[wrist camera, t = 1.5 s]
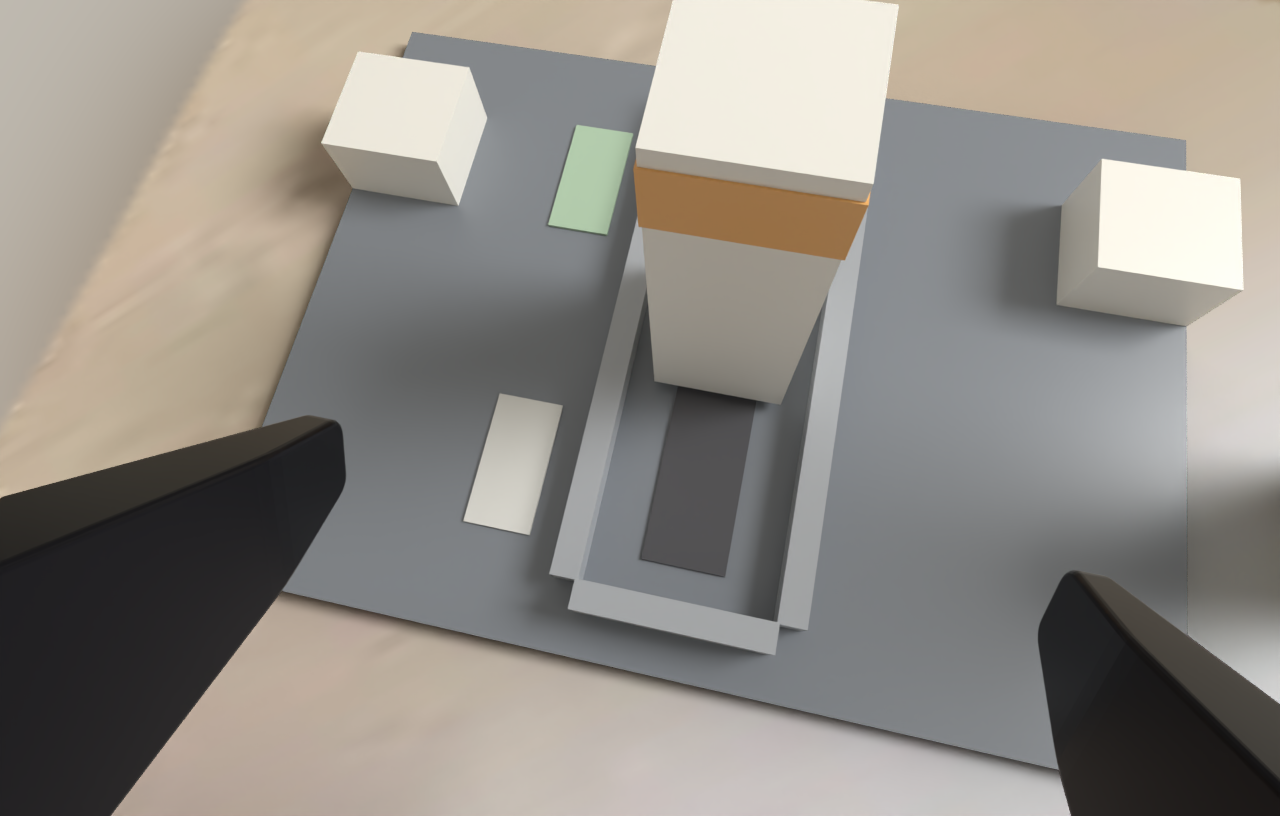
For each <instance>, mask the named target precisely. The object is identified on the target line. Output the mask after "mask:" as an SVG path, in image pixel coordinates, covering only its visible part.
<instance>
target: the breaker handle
mask: <svg viewBox="0 0 1280 816" xmlns="http://www.w3.org/2000/svg"><path fill="white" fill-rule="evenodd" d="M898 8H899V5H897V4H890V3H882V2H874V1H866V0H673V2H672V6H671V10H670V14H669V18H668V22H667V26H666V30H665V33H664V37H663V41H662V45H661V49H660V53H659V57H658V61H657V65H656V69H655V73H654V77H653V80H652V84H651V88H650V92H649V96H648V100H647V104H646V108H645V112H644V116H643V120H642V123H641V127H640V131H639V135H638V139H637V143H636V147H635V150H636V160H635V164H634V168H633V171H634V182H635V193H636V204H637V215H638V226H639V227H642V235H643V247H644V260H645V272H646V284H647V296H648V308H649V320H650V332H651V344H652V357H653V369H654V381H656V382H661V383H666V384H672V385H677V386H682V387H688V388H693V389H699V390H704V391H709V392H715V393H720V394H725V395H731V396H736V397H741V398H747V399H752V400H757V401H763V402H768V403H773V404H779V405H781V403H782V400H783V398H784V396H785V393H786V391H787V388H788V386H789V384H790V381H791V379H792V377H793V374H794V372H795V369H796V367H797V365H798V362H799V360H800V358H801V355H802V353H803V350H804V348H805V346H806V343H807V341H808V339H809V336H810V334H811V331H812V329H813V327H814V324H815V322H816V320H817V317H818V315H819V312H820V310H821V308H822V305H823V303H824V301H825V298H826V296H827V293H828V291H829V289H830V286H831V284H832V282H833V279H834V277H835V274H836V272H837V270H838V267H839V265H840V263H841V260H844V261H845V259H846V257H847V255H848V252H849V250H850V248H851V245H852V243H853V241H854V238H855V236H856V234H857V231H858V229H859V227H860V224H861V222H862V220H863V217H864V215H865V213H866V210H867V208H868V206H869V199H870V192H871V189H872V187H873V184H874V177H875V170H876V163H877V156H878V149H879V142H880V135H881V128H882V121H883V114H884V107H885V100H886V93H887V85H888V78H889V71H890V64H891V57H892V50H893V43H894V36H895V29H896V22H897V15H898Z"/></svg>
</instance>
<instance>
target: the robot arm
mask: <svg viewBox="0 0 1280 816" xmlns="http://www.w3.org/2000/svg"><path fill="white" fill-rule="evenodd" d="M345 482H346V464H345V451H344V438H343V430H342V427H341V425H340V424H339V423H338V422H337V421H336V420H332V419H328V418H323V417H318V416H313V415H305V416H301V417H297V418H293V419H290V420H286V421H282V422H278V423H275V424H271V425H267V426H264V427H260V428H256V429H252V430H249V431H245V432H241V433H238V434H234V435H230V436H226V437H223V438H219V439H215V440H212V441H208V442H204V443H200V444H197V445H193V446H189V447H186V448H182V449H178V450H175V451H171V452H167V453H163V454H160V455H156V456H152V457H149V458H145V459H141V460H137V461H134V462H130V463H126V464H123V465H119V466H115V467H111V468H108V469H104V470H100V471H97V472H93V473H89V474H85V475H82V476H78V477H74V478H71V479H67V480H63V481H59V482H56V483H52V484H48V485H45V486H41V487H37V488H34V489H30V490H26V491H22V492H19V493H15V494H11V495H8V496H4V497H2V498H0V816H111V815H112V813H113V812H114V811H115V810H116V808H117V807H118V806H119V804H120V803H121V802H122V800H123V799H124V798H125V796H126V795H127V794H128V792H129V791H130V790H131V789H132V787H133V786H134V785H135V783H136V782H137V781H138V779H139V778H140V777H141V775H142V774H143V773H144V771H145V770H146V769H147V768H148V766H149V765H150V764H151V762H152V761H153V760H154V758H155V757H156V756H157V754H158V753H159V752H160V750H161V749H162V748H163V747H164V745H165V744H166V743H167V741H168V740H169V739H170V737H171V736H172V735H173V733H174V732H175V731H176V729H177V728H178V727H179V726H180V724H181V723H182V722H183V720H184V719H185V718H186V716H187V715H188V714H189V712H190V711H191V710H192V708H193V707H194V706H195V705H196V703H197V702H198V701H199V699H200V698H201V697H202V695H203V694H204V693H205V691H206V690H207V689H208V687H209V686H210V685H211V684H212V682H213V681H214V680H215V678H216V677H217V676H218V674H219V673H220V672H221V670H222V669H223V668H224V666H225V665H226V664H227V662H228V661H229V660H230V659H231V657H232V656H233V655H234V653H235V652H236V651H237V649H238V648H239V647H240V645H241V644H242V643H243V641H244V640H245V639H246V638H247V636H248V635H249V634H250V632H251V631H252V630H253V628H254V627H255V626H256V624H257V623H258V622H259V620H260V619H261V618H262V617H263V615H264V614H265V613H266V611H267V610H268V609H269V607H270V606H271V605H272V603H273V602H274V601H275V599H276V598H277V597H278V595H279V594H280V592H281V591H282V590H283V588H284V587H285V586H286V584H287V582H288V581H289V579H290V578H291V576H292V575H293V573H294V572H295V570H296V568H297V567H298V565H299V564H300V562H301V560H302V559H303V557H304V555H305V554H306V552H307V550H308V549H309V547H310V545H311V544H312V542H313V540H314V539H315V537H316V535H317V534H318V532H319V530H320V529H321V527H322V525H323V524H324V522H325V520H326V519H327V517H328V515H329V514H330V512H331V510H332V509H333V507H334V505H335V504H336V502H337V500H338V499H339V497H340V495H341V493H342V491H343V489H344V486H345ZM1038 648H1039V654H1040V661H1041V667H1042V673H1043V680H1044V686H1045V693H1046V699H1047V706H1048V712H1049V719H1050V725H1051V732H1052V738H1053V744H1054V749H1055V755H1056V760H1057V765H1058V769H1059V773H1060V777H1061V781H1062V785H1063V788H1064V792H1065V796H1066V799H1067V803H1068V806H1069V810H1070V814H1071V816H1280V704H1279V703H1278V702H1276V701H1275V700H1274V699H1272V698H1271V697H1270V696H1268V695H1267V694H1266V693H1264V692H1263V691H1262V690H1260V689H1259V688H1258V687H1256V686H1255V685H1253V684H1252V683H1251V682H1249V681H1248V680H1247V679H1245V678H1244V677H1243V676H1241V675H1240V674H1239V673H1237V672H1236V671H1235V670H1233V669H1232V668H1231V667H1229V666H1228V665H1227V664H1225V663H1224V662H1223V661H1221V660H1220V659H1219V658H1217V657H1216V656H1214V655H1213V654H1212V653H1210V652H1209V651H1208V650H1206V649H1205V648H1204V647H1202V646H1201V645H1200V644H1198V643H1197V642H1196V641H1194V640H1193V639H1192V638H1190V637H1189V636H1188V635H1186V634H1185V633H1184V632H1182V631H1181V630H1180V629H1178V628H1177V627H1176V626H1174V625H1173V624H1171V623H1170V622H1169V621H1167V620H1166V619H1165V618H1163V617H1162V616H1161V615H1159V614H1158V613H1157V612H1155V611H1154V610H1153V609H1151V608H1150V607H1149V606H1147V605H1146V604H1145V603H1143V602H1142V601H1141V600H1139V599H1138V598H1137V597H1135V596H1134V595H1133V594H1131V593H1130V592H1128V591H1127V590H1126V589H1124V588H1123V587H1122V586H1120V585H1119V584H1118V583H1116V582H1115V581H1114V580H1112V579H1111V578H1109V577H1107V576H1104V575H1099V574H1094V573H1089V572H1084V571H1079V570H1071V571H1069V572H1067V573H1066V574H1065V575H1064V576H1063V577H1062V578H1061V580H1060V582H1059V584H1058V586H1057V588H1056V590H1055V592H1054V594H1053V596H1052V598H1051V600H1050V602H1049V604H1048V606H1047V608H1046V610H1045V613H1044V615H1043V617H1042V619H1041V621H1040V624H1039V628H1038Z"/></svg>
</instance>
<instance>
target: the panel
mask: <svg viewBox="0 0 1280 816" xmlns="http://www.w3.org/2000/svg"><path fill="white" fill-rule="evenodd" d="M655 69H656V66H652V65H645V64H637V63H630V62H623V61H616V60H609V59H602V58H595V57H587V56H580V55H573V54H566V53H559V52H552V51H545V50H538V49H530V48H523V47H516V46H509V45H502V44H495V43H488V42H480V41H473V40H466V39H459V38H452V37H445V36H438V35H430V34H423V33H416V32H412V34H411V37H410V39H409V42H408V45H407V47H406V50H405V53H404V55H403V58H400V57H394V56H387V55H380V54H373V53H366V52H359V51H358V53H357V56H356V58H355V61H354V63H353V66H352V68H351V70H350V73H349V75H348V78H347V80H346V83H345V85H344V88H343V90H342V93H341V95H340V98H339V100H338V103H337V105H336V108H335V110H334V113H333V115H332V118H331V120H330V123H329V125H328V127H327V130H326V132H325V135H324V137H323V140H322V142H321V144H322V145H323V147H324V148H325V149H326V151H327V152H328V154H329V155H330V157H331V158H332V159H333V161H334V162H335V164H336V165H337V167H338V168H339V169H340V171H341V172H342V174H343V175H344V177H345V178H346V179H347V181H348V182H349V184H350V185H351V187H352V188H353V189H352V192H351V194H350V197H349V200H348V202H347V205H346V208H345V210H344V213H343V215H342V218H341V221H340V223H339V226H338V229H337V231H336V234H335V236H334V239H333V242H332V244H331V247H330V250H329V252H328V255H327V257H326V260H325V263H324V265H323V268H322V271H321V273H320V276H319V278H318V281H317V284H316V286H315V289H314V292H313V294H312V297H311V299H310V302H309V305H308V307H307V310H306V313H305V315H304V318H303V320H302V323H301V326H300V328H299V331H298V334H297V336H296V339H295V341H294V344H293V347H292V349H291V352H290V355H289V357H288V360H287V362H286V365H285V368H284V370H283V373H282V376H281V378H280V381H279V383H278V386H277V389H276V391H275V394H274V397H273V399H272V402H271V404H270V407H269V410H268V412H267V415H266V418H265V420H264V423H263V425H262V427H264V426H267V425H271V424H275V423H278V422H282V421H286V420H290V419H293V418H297V417H301V416H305V415H313V416H318V417H323V418H328V419H332V420H336V421H337V422H338V423H339V424H340V425H341V427H342V430H343V438H344V451H345V464H346V482H345V486H344V489H343V491H342V493H341V495H340V497H339V499H338V500H337V502H336V504H335V505H334V507H333V509H332V510H331V512H330V514H329V515H328V517H327V519H326V520H325V522H324V524H323V525H322V527H321V529H320V530H319V532H318V534H317V535H316V537H315V539H314V540H313V542H312V544H311V545H310V547H309V549H308V550H307V552H306V554H305V555H304V557H303V559H302V560H301V562H300V564H299V565H298V567H297V568H296V570H295V572H294V573H293V575H292V576H291V578H290V579H289V581H288V582H287V584H286V586H285V587H284V588H283V590H282V591H284V592H289V593H293V594H297V595H302V596H306V597H310V598H315V599H319V600H323V601H328V602H332V603H336V604H341V605H345V606H349V607H354V608H358V609H362V610H367V611H371V612H375V613H380V614H384V615H388V616H393V617H397V618H402V619H406V620H410V621H415V622H419V623H423V624H428V625H432V626H436V627H441V628H445V629H449V630H454V631H458V632H462V633H467V634H471V635H475V636H480V637H484V638H488V639H493V640H497V641H501V642H506V643H510V644H514V645H519V646H523V647H527V648H532V649H536V650H540V651H545V652H549V653H553V654H558V655H562V656H566V657H571V658H575V659H579V660H584V661H588V662H592V663H597V664H601V665H606V666H610V667H614V668H619V669H623V670H627V671H632V672H636V673H640V674H645V675H649V676H653V677H658V678H662V679H666V680H671V681H675V682H679V683H684V684H688V685H692V686H697V687H701V688H705V689H710V690H714V691H718V692H723V693H727V694H731V695H736V696H740V697H744V698H749V699H753V700H757V701H762V702H766V703H770V704H775V705H779V706H783V707H788V708H792V709H796V710H801V711H805V712H810V713H814V714H818V715H823V716H827V717H831V718H836V719H840V720H844V721H849V722H853V723H857V724H862V725H866V726H870V727H875V728H879V729H883V730H888V731H892V732H896V733H901V734H905V735H909V736H914V737H918V738H922V739H927V740H931V741H935V742H940V743H944V744H948V745H953V746H957V747H961V748H966V749H970V750H974V751H979V752H983V753H987V754H992V755H996V756H1001V757H1005V758H1009V759H1014V760H1018V761H1022V762H1027V763H1031V764H1035V765H1040V766H1044V767H1048V768H1053V769H1057V770H1059V769H1058V765H1057V760H1056V755H1055V749H1054V744H1053V738H1052V732H1051V725H1050V719H1049V712H1048V706H1047V699H1046V693H1045V686H1044V680H1043V673H1042V667H1041V661H1040V654H1039V648H1038V628H1039V624H1040V621H1041V619H1042V617H1043V615H1044V613H1045V610H1046V608H1047V606H1048V604H1049V602H1050V600H1051V598H1052V596H1053V594H1054V592H1055V590H1056V588H1057V586H1058V584H1059V582H1060V580H1061V578H1062V577H1063V576H1064V575H1065V574H1066V573H1067V572H1069V571H1071V570H1079V571H1084V572H1089V573H1094V574H1099V575H1104V576H1107V577H1109V578H1111V579H1112V580H1114V581H1115V582H1116V583H1118V584H1119V585H1120V586H1122V587H1123V588H1124V589H1126V590H1127V591H1128V592H1130V593H1131V594H1133V595H1134V596H1135V597H1137V598H1138V599H1139V600H1141V601H1142V602H1143V603H1145V604H1146V605H1147V606H1149V607H1150V608H1151V609H1153V610H1154V611H1155V612H1157V613H1158V614H1159V615H1161V616H1162V617H1163V618H1165V619H1166V620H1167V621H1169V622H1170V623H1171V624H1173V625H1174V626H1176V627H1177V628H1178V629H1180V630H1181V631H1182V632H1184V633H1185V634H1186V635H1187V349H1186V326H1188V325H1189V324H1191V323H1193V322H1194V321H1196V320H1197V319H1199V318H1200V317H1202V316H1204V315H1205V314H1207V313H1208V312H1210V311H1211V310H1213V309H1215V308H1216V307H1218V306H1219V305H1221V304H1222V303H1224V302H1226V301H1227V300H1229V299H1230V298H1232V297H1233V296H1235V295H1237V294H1238V293H1240V292H1241V291H1243V260H1242V223H1241V187H1240V179H1239V178H1232V177H1225V176H1218V175H1211V174H1204V173H1197V172H1191V171H1186V140H1180V139H1173V138H1166V137H1158V136H1151V135H1144V134H1137V133H1130V132H1123V131H1116V130H1108V129H1101V128H1094V127H1087V126H1080V125H1073V124H1066V123H1059V122H1051V121H1044V120H1037V119H1030V118H1023V117H1016V116H1009V115H1001V114H994V113H987V112H980V111H973V110H966V109H959V108H951V107H944V106H937V105H930V104H923V103H916V102H909V101H902V100H894V99H887V98H886V100H885V107H884V114H883V121H882V128H881V135H880V142H879V149H878V156H877V163H876V170H875V177H874V184H873V187H872V189H871V192H870V199H869V206H868V208H867V210H866V213H865V215H864V217H863V220H862V222H861V224H860V227H859V229H858V231H857V234H856V236H855V238H854V241H853V243H852V245H851V248H850V250H849V252H848V255H847V257H846V259H845V261H844V260H841V263H840V265H839V267H838V270H837V272H836V274H835V277H834V279H833V282H832V284H831V286H830V289H829V291H828V293H827V296H826V298H825V301H824V303H823V305H822V308H821V310H820V312H819V315H818V317H817V320H816V322H815V324H814V327H813V329H812V331H811V334H810V336H809V339H808V341H807V343H806V346H805V348H804V350H803V353H802V355H801V358H800V360H799V362H798V365H797V367H796V369H795V372H794V374H793V377H792V379H791V381H790V384H789V386H788V388H787V391H786V393H785V396H784V398H783V400H782V403H781V405H779V404H773V403H768V402H763V401H757V400H752V399H747V398H741V397H736V396H731V395H725V394H720V393H715V392H709V391H704V390H699V389H693V388H688V387H682V386H677V385H672V384H666V383H661V382H656V381H654V369H653V357H652V344H651V332H650V320H649V308H648V296H647V284H646V272H645V260H644V247H643V235H642V227H639V226H638V215H637V204H636V193H635V182H634V171H633V168H634V164H635V160H636V150H635V147H636V143H637V139H638V135H639V131H640V127H641V123H642V120H643V116H644V112H645V108H646V104H647V100H648V96H649V92H650V88H651V84H652V80H653V77H654V73H655Z"/></svg>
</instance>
